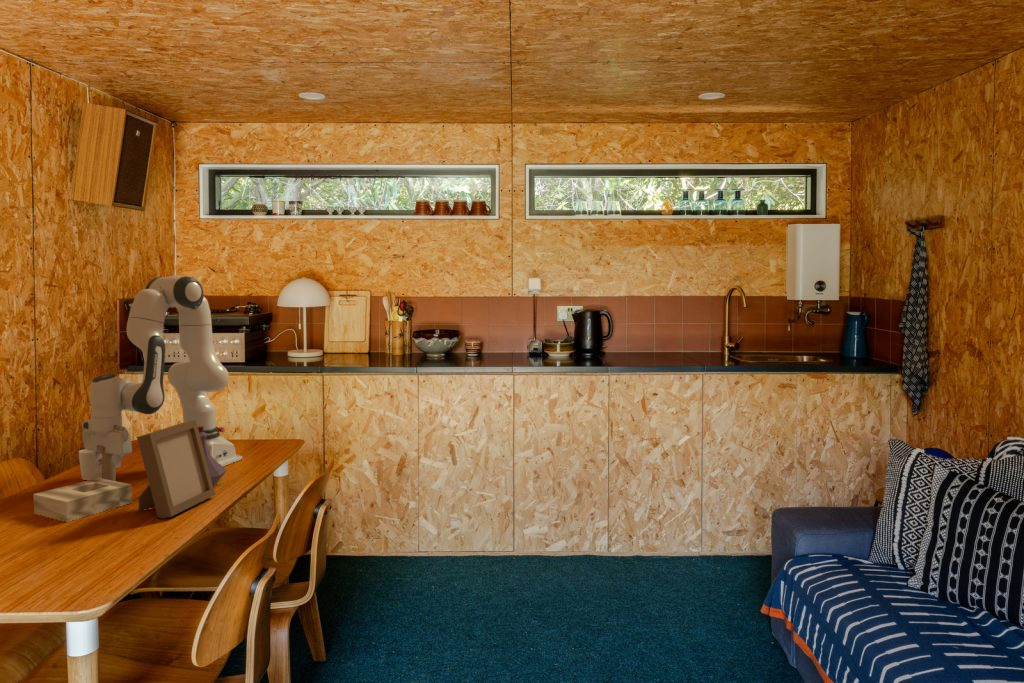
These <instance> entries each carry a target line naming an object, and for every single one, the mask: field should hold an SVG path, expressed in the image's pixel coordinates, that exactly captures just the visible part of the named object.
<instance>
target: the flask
mask: <svg viewBox="0 0 1024 683" xmlns="http://www.w3.org/2000/svg"><path fill="white" fill-rule="evenodd" d="M203 429H204V427H203V426H198V430H199V434H200V438H201V442H202V445H203V449H204V453H205V457H206V461H207V465H208V468H209V472H210V476H211V480H212V484H213V487H214V486H216V485H217V484H218V483H219V482H220V480H221V479H222V477H223V476H224V475H225V474H226V472H227V471H228V470H227V469H226V468H225V466H223V467H222V466H221V465H220V464H219V463H218V462H217V461H216V460H215V459H214V458H213V457H212V456H211V455H210V453H209V450H208V447H207V444H206V438H207V436H208V434H206V433H205V432H203ZM216 483H217V484H216Z"/></svg>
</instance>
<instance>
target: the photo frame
mask: <svg viewBox="0 0 1024 683" xmlns="http://www.w3.org/2000/svg"><path fill="white" fill-rule="evenodd" d="M136 440H137V444H138V447H139V450H140V455H141V459H142V462H143V465H144V469H145V473H146V477H147V481H148V484H147V487H146V488H145V489H144V490H143V491H142V493H141V494H140V495H139V496H138V510H143V511H145V510H144V509H148V510H150V509H149V508H153V509H155V511H156V515H157V516H156V517H157V518H158V517H159V518H162V519H165V518H166V519H167V518H171V517H173V516H176V515H177V514H179V513H181V512H184V511H185V510H187V509H189V508H192V507H194V506H196V505H197V504H199V503H201V502H203V501H205V500H208V499H210V498H212V497H214V496H215V495H216V492H215V488H214V486H213V484H212V480H211V476H210V472H209V468H208V465H207V461H206V457H205V453H204V449H203V445H202V442H201V438H200V434H199V430H198V426H197V422H196V420H193V421H188V422H184V423H183V422H181V423H179V424H174V425H171V426H169V427H165V428H162V429H159V430H155V431H152V432H149V433H146V434H143V435H139V436H137V437H136ZM154 507H155V508H154Z"/></svg>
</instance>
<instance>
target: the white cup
mask: <svg viewBox="0 0 1024 683" xmlns="http://www.w3.org/2000/svg"><path fill="white" fill-rule="evenodd" d="M101 455H102V453H101ZM78 458H79V468H80V472H81V480H82V479H83V480H92V479H96V478H102V464H101V465H99V464H97V463H96V458H95V456H94V454H93V451H92V450H86V449H85V448H84V449H80V450H79V451H78ZM83 480H82V481H83Z"/></svg>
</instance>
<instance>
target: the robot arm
mask: <svg viewBox="0 0 1024 683" xmlns="http://www.w3.org/2000/svg"><path fill="white" fill-rule="evenodd" d="M169 308H176V309H177V312H178V329H179V346H180V348H181V349H182V350H183V351H184V352H185V353H186V356H187V358H188V360H183V361H182V360H181V361H178V362H175V363H173V364H172V365H171V366H170V368H169V369H168V372H167V380H168V382H169V384H170V385H171V386H172V387H173V388H174V389H175V392H176V393H177V396H178V399H179V401H180V405H181V409H182V423H184V422H188V421H193V420H196V422H197V426H203V427H204V429H203V432H205V433H206V434H208V436H207V438H206V444H207V447H208V450H209V453H210V455H211V456H212V457H213V458H214V459H215V460H216V461H217V462H218V463H219V464H220V465H221V466H222V467H225V466H227V465H231V464H234V463H237V462H238V461H241V459H242V460H243V456H242V455H240V454H236V448H235V445H234V444H233V443H232V442H231V441H229V440H228V439H226V438H224V437H223V436H222V435H221V433H225V431H226V427H225V426H219V427H218V426H217V424H216V422H217V421H216V419H217V418H216V407H215V404H214V403H213V402H212V401H211V399H209V397H208V394H207V393H214V392H220V391H223V390H225V388H226V387H227V386H228V383H229V380H230V374H229V371H228V370H227V368H226V366H224V365H223V364H222V363H221V361H220V359H219V357H218V355H217V352H216V350H215V345H214V339H213V324H212V314H211V310H210V304H209V301H208V299H207V298H206V297H205V296H204V289H203V286H202V284H201V282H199V280H197V279H196V278H193V277H191V276H182V275H181V276H179V275H171V276H158V277H155V278H153V279H151V280H149V281H148V282H147V284H146V286H145V288H144V289H141V290H139V291H138V292H137V293H136V294H135V297H134V300H133V302H132V304H131V307H130V310H129V314H128V319H127V322H126V335H127V336H126V337H127V338H128V340H129V341H130V342H131V343H132V344H133V345H134V346H136V347H137V348H139V349H140V351H141V352H142V354H143V358H144V361H143V362H144V363H143V364H144V365H143V373H142V381H141V382H136V381H131V380H127V379H124V378H122V377H120V376H118V375H117V374H116V373H108V374H101V375H97V376H95V377H94V378H93V379H92V380H91V381H90V382H91V383H90V389H89V404H90V407H91V412H90V419H88V420H85V421H82V423H81V428H82V429H83V430H82V444H83V447H84V449H86V450H92V451H93V454H94V456H95V458H96V463H97V464H99V465H101V464H102V455H101V453H102V452H100V451H98V450H97V448H96V446H97V445H98V446H104V447H106V451H105V452H104V453H108V454H114V462H113V467H115V469H116V468H117V469H119V468H121V465H122V463H121V462H122V459H123V458H124V457H125V456H128V455H130V454H132V452H133V446H132V438H131V434H130V433H129V431H128V429H127V428H126V427H125V426H123V417H122V416H123V415H122V414H123V413H122V412H123V411H130V412H137V413H140V414H142V415H143V414H144V415H153V414H155V413H156V412H158V411H159V410H160V409H161V408H162V406H163V405H164V402H165V390H164V373H165V362H166V360H165V359H166V344H165V340H164V336H163V335H164V325H165V319H166V313H167V311H168V309H169ZM233 462H234V463H233Z"/></svg>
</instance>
